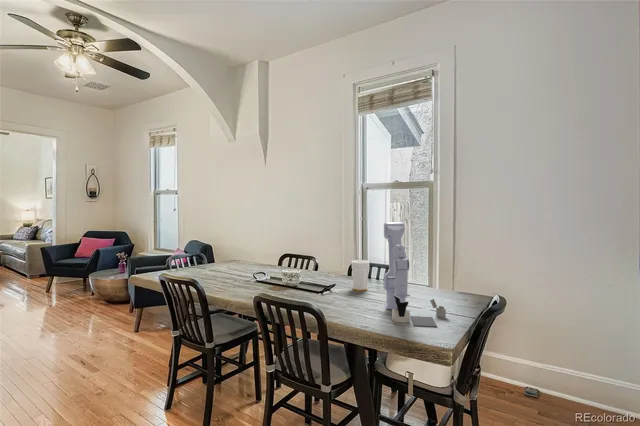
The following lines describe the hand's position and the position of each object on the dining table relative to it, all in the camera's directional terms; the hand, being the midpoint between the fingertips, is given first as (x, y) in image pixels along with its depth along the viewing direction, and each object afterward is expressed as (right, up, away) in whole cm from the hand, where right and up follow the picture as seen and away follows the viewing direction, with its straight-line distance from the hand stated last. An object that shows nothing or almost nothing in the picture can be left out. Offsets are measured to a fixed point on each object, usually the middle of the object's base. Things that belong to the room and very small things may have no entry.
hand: (400, 313), depth 159 cm
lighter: (+19, -3, +7) cm, 20 cm away
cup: (-12, -2, +57) cm, 59 cm away
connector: (0, -3, 0) cm, 3 cm away
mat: (+10, -3, -1) cm, 11 cm away
